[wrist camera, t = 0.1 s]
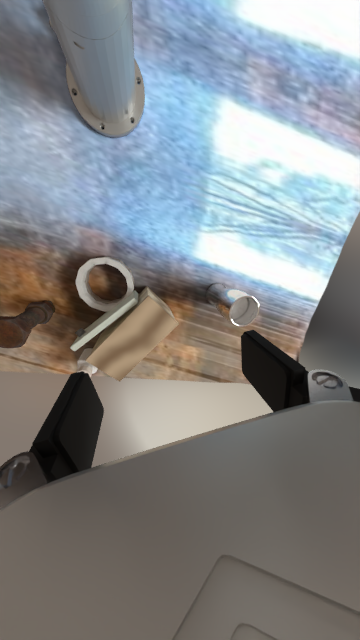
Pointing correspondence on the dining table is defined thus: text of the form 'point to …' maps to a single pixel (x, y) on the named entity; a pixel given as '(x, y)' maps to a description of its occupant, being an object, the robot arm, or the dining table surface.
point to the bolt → (24, 323)
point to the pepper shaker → (86, 363)
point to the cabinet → (131, 332)
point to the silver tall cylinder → (233, 304)
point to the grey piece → (111, 310)
